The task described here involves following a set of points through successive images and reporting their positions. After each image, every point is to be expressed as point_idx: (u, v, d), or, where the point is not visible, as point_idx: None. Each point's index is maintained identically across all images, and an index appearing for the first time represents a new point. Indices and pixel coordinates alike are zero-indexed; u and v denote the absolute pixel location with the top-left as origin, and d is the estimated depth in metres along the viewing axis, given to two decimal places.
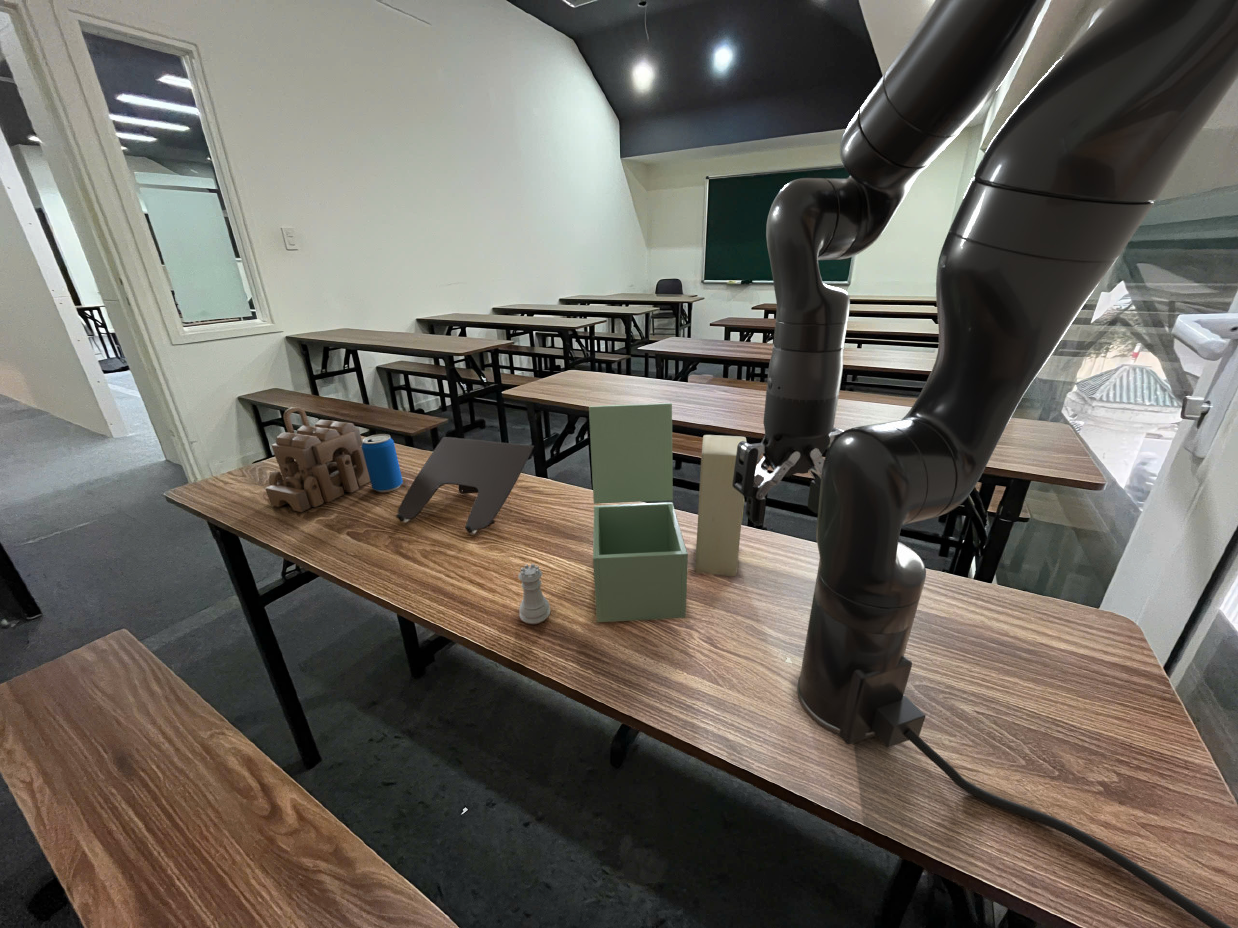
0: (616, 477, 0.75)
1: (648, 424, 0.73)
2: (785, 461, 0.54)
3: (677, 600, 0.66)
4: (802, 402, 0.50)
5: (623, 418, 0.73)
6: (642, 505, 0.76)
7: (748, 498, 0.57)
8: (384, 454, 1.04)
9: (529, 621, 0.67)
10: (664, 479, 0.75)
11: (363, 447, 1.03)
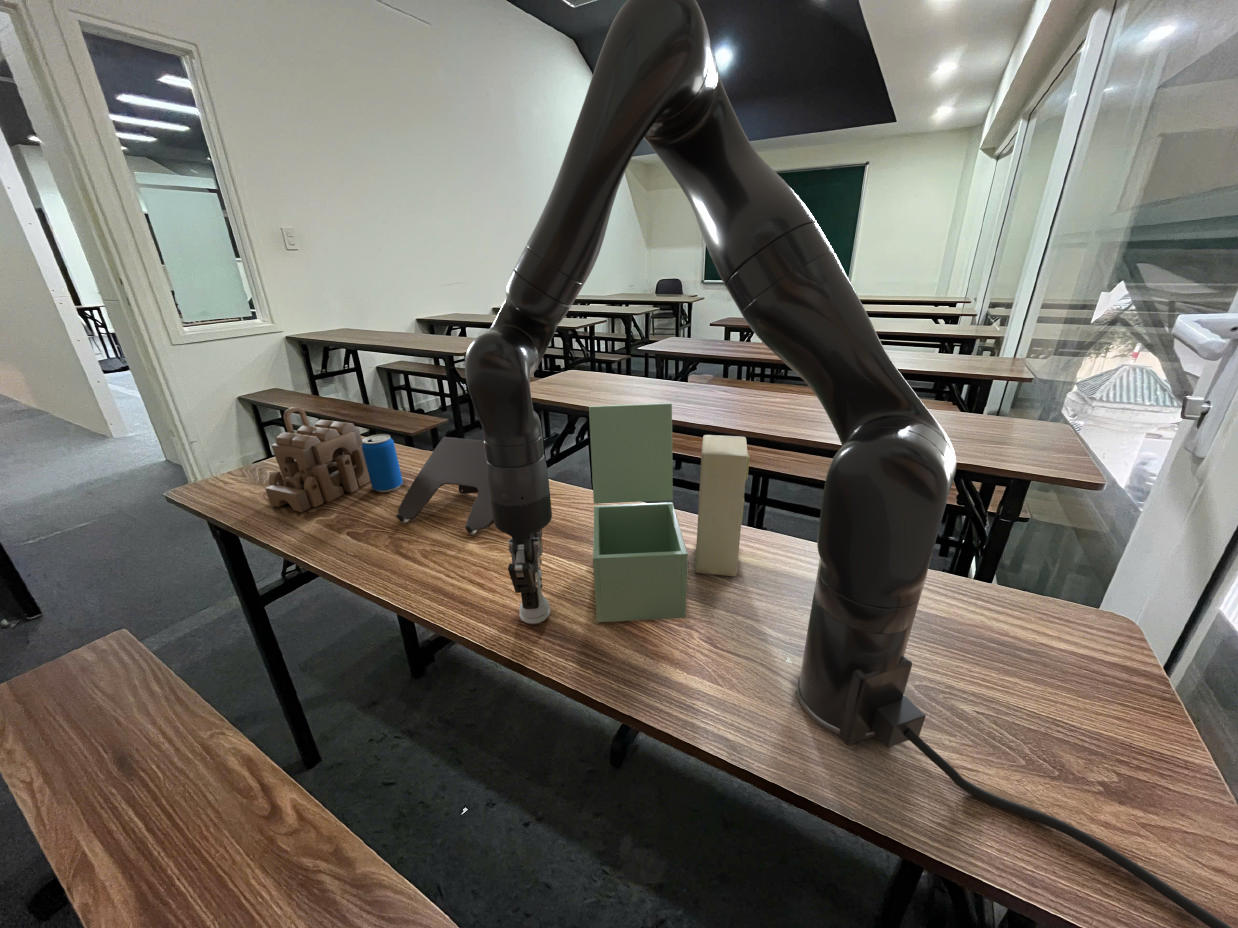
0: (616, 477, 0.75)
1: (648, 424, 0.73)
2: (537, 551, 0.62)
3: (677, 600, 0.66)
4: (542, 500, 0.59)
5: (623, 418, 0.73)
6: (642, 505, 0.76)
7: (525, 592, 0.64)
8: (384, 454, 1.04)
9: (529, 621, 0.67)
10: (664, 479, 0.75)
11: (363, 447, 1.03)
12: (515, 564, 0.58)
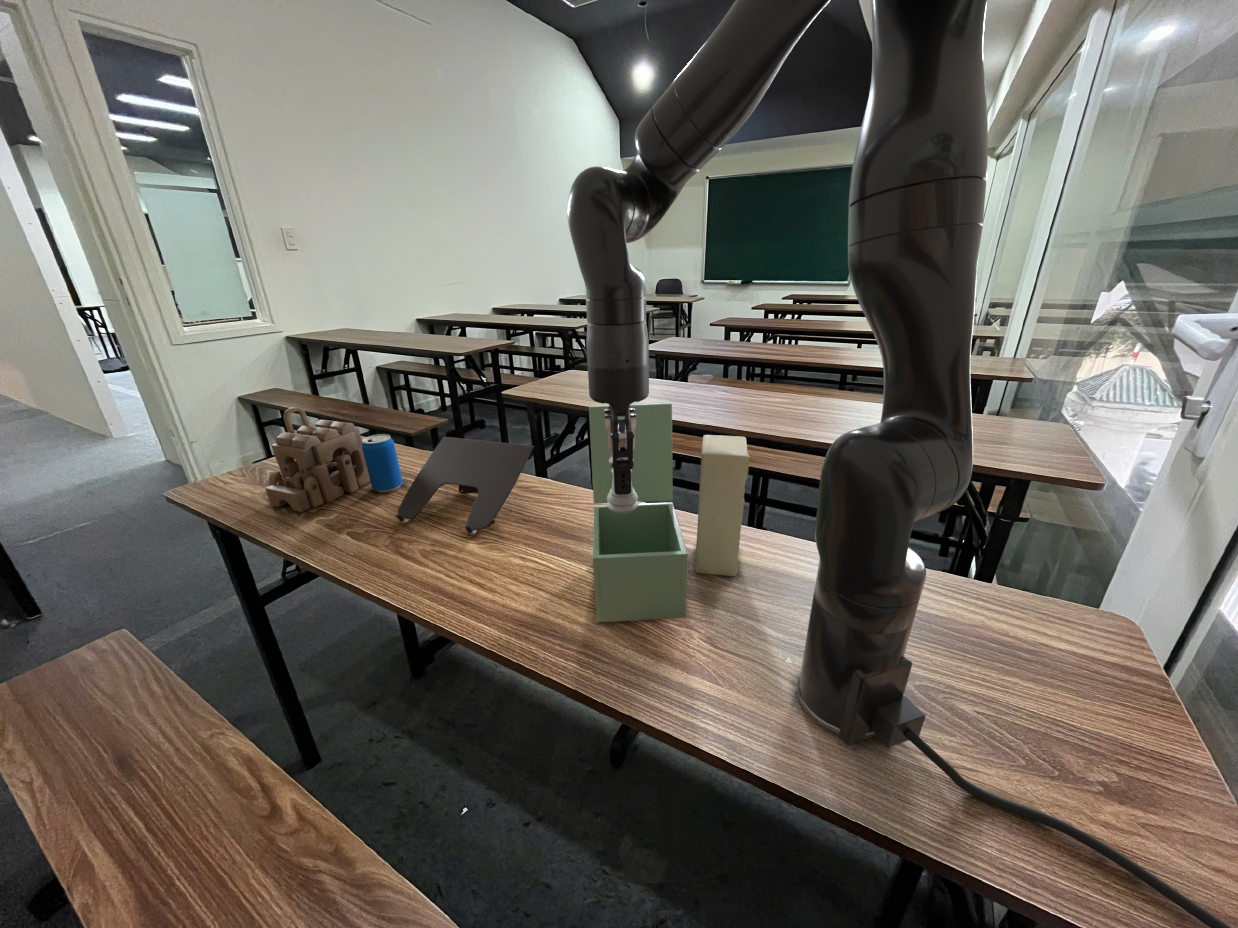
0: None
1: (648, 424, 0.73)
2: (634, 428, 0.60)
3: (677, 600, 0.66)
4: (644, 367, 0.57)
5: None
6: (642, 505, 0.76)
7: (619, 474, 0.61)
8: (384, 454, 1.04)
9: (619, 510, 0.64)
10: (664, 479, 0.75)
11: (363, 447, 1.03)
12: (618, 432, 0.56)
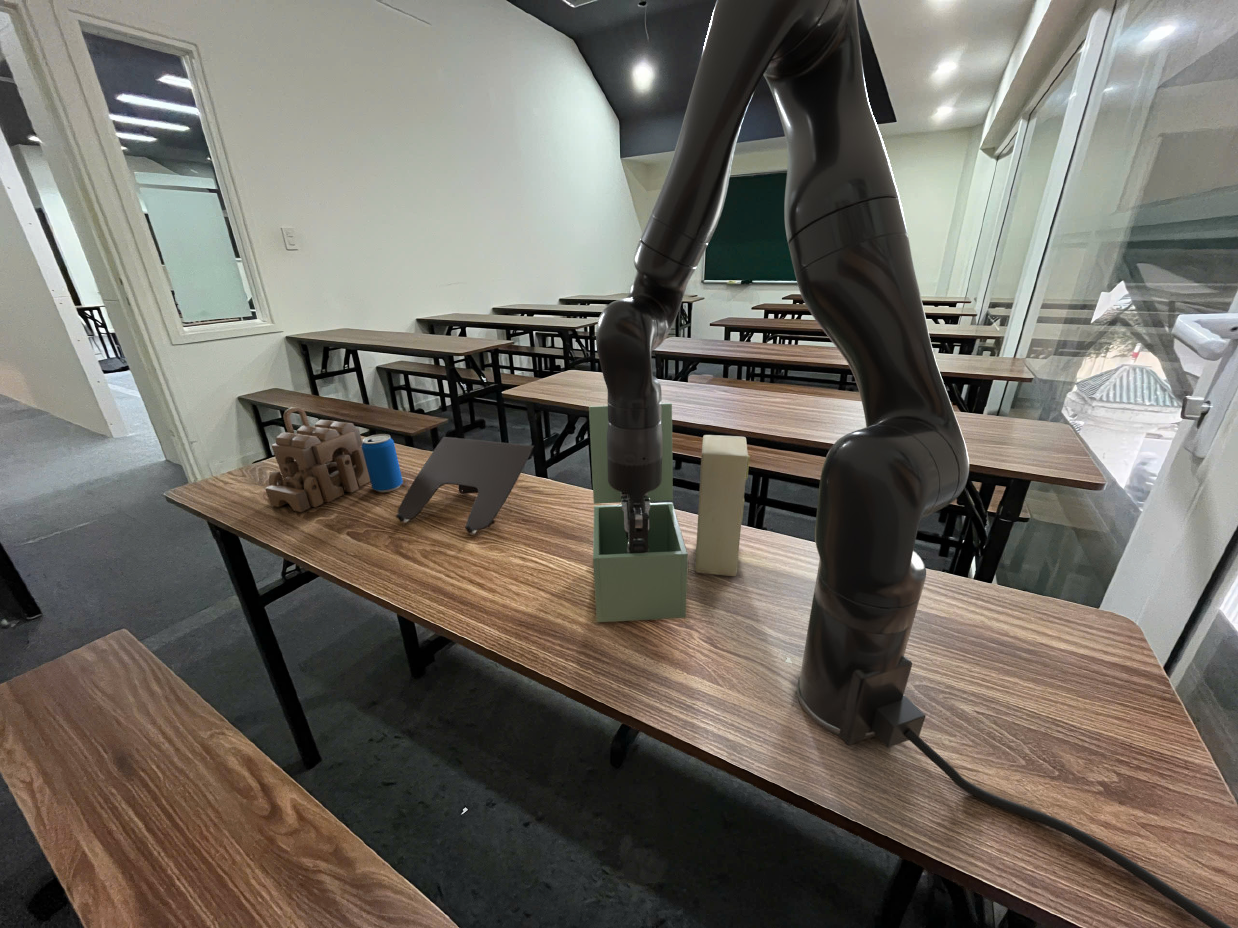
0: None
1: None
2: (648, 509, 0.66)
3: (677, 600, 0.66)
4: (658, 461, 0.63)
5: None
6: None
7: None
8: (384, 454, 1.04)
9: None
10: (664, 479, 0.75)
11: (363, 447, 1.03)
12: (635, 513, 0.62)
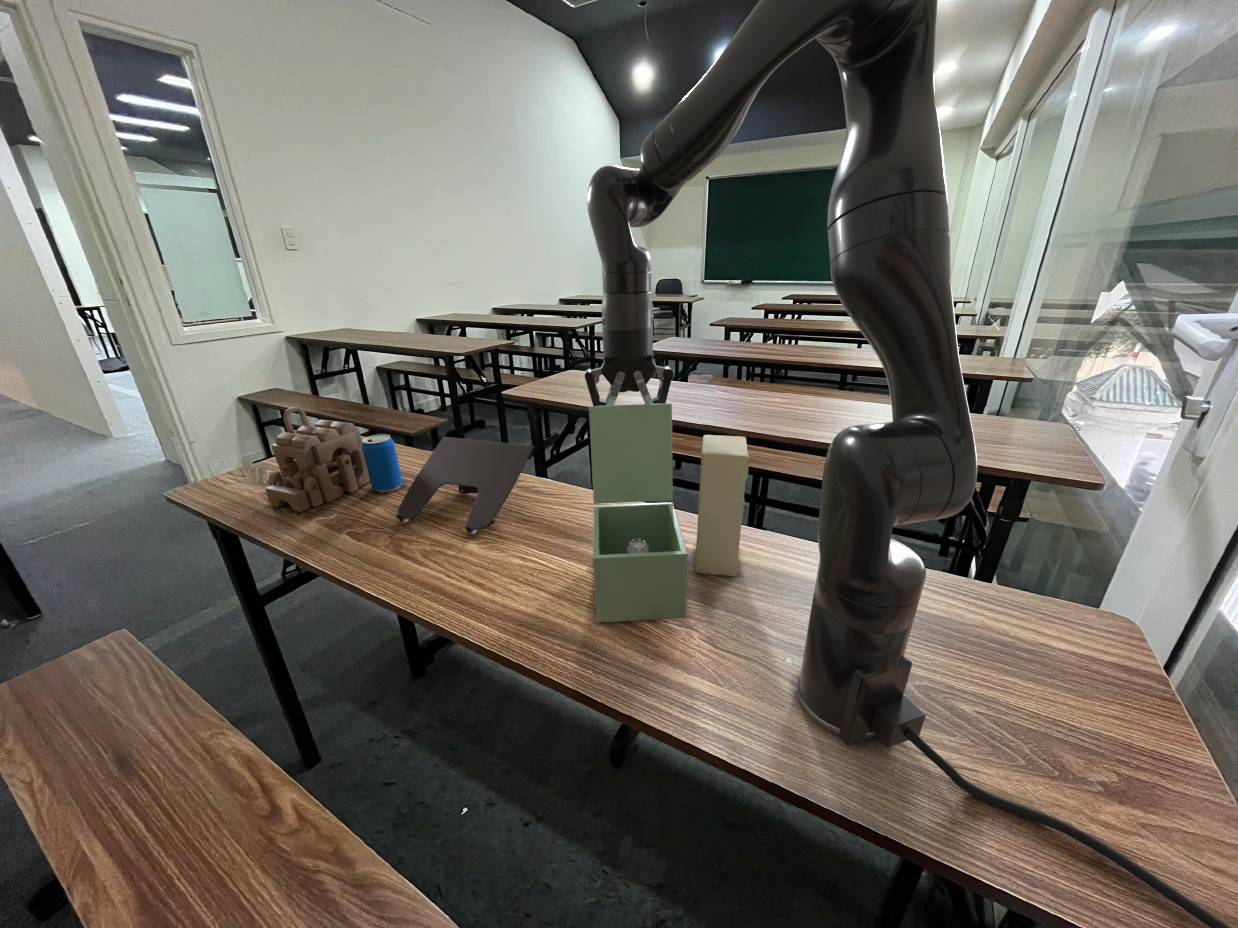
0: (616, 477, 0.75)
1: (648, 424, 0.73)
2: None
3: (677, 600, 0.66)
4: None
5: (623, 418, 0.73)
6: (642, 505, 0.76)
7: None
8: (384, 454, 1.04)
9: None
10: (664, 479, 0.75)
11: (363, 447, 1.03)
12: (668, 368, 0.74)
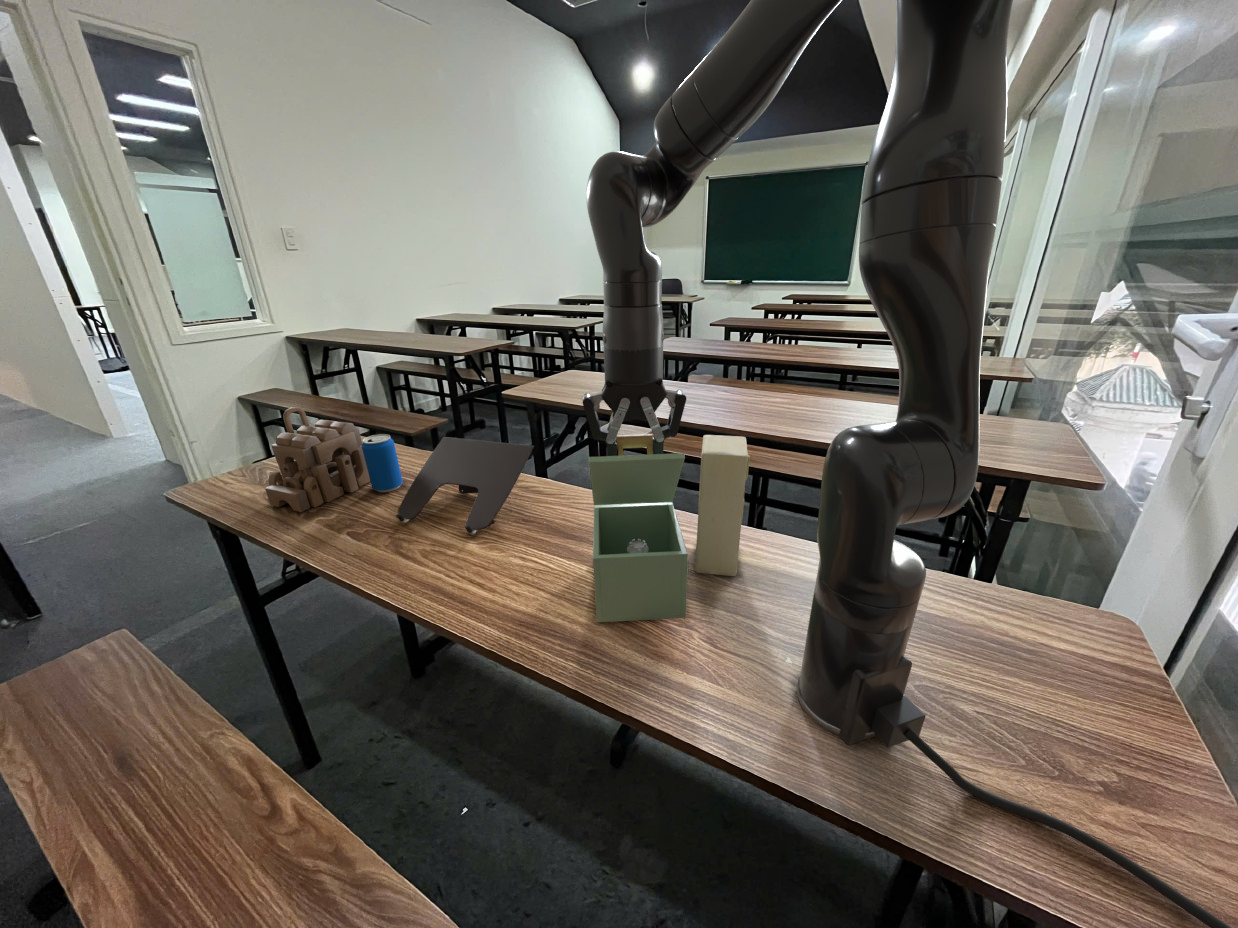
0: (617, 494, 0.72)
1: (655, 469, 0.65)
2: None
3: (677, 600, 0.66)
4: None
5: (627, 467, 0.64)
6: (642, 505, 0.76)
7: None
8: (384, 454, 1.04)
9: None
10: (666, 493, 0.73)
11: (363, 447, 1.03)
12: (680, 393, 0.63)
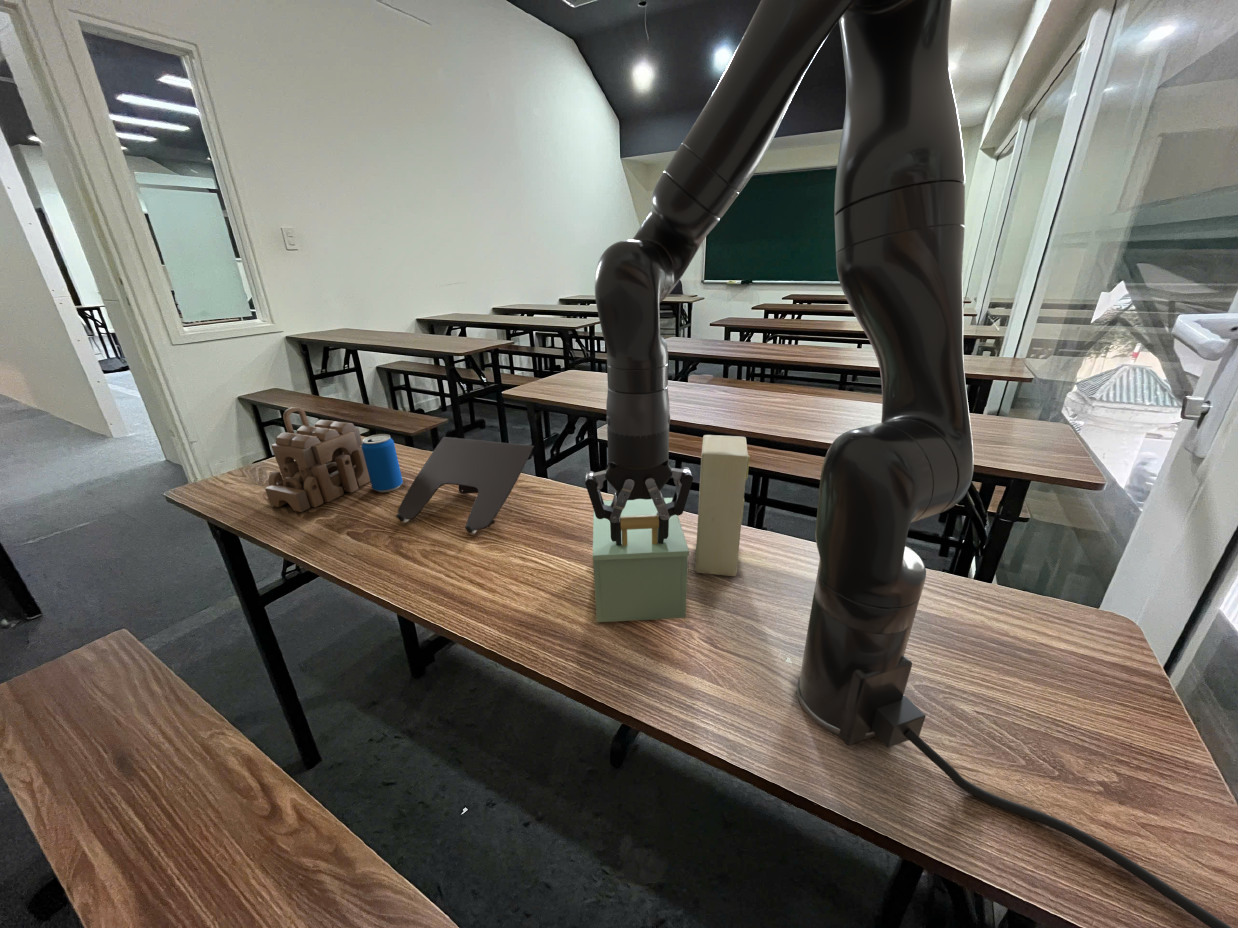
0: None
1: None
2: None
3: (677, 600, 0.66)
4: None
5: None
6: None
7: (668, 520, 0.63)
8: (384, 454, 1.04)
9: None
10: None
11: (363, 447, 1.03)
12: (687, 472, 0.60)
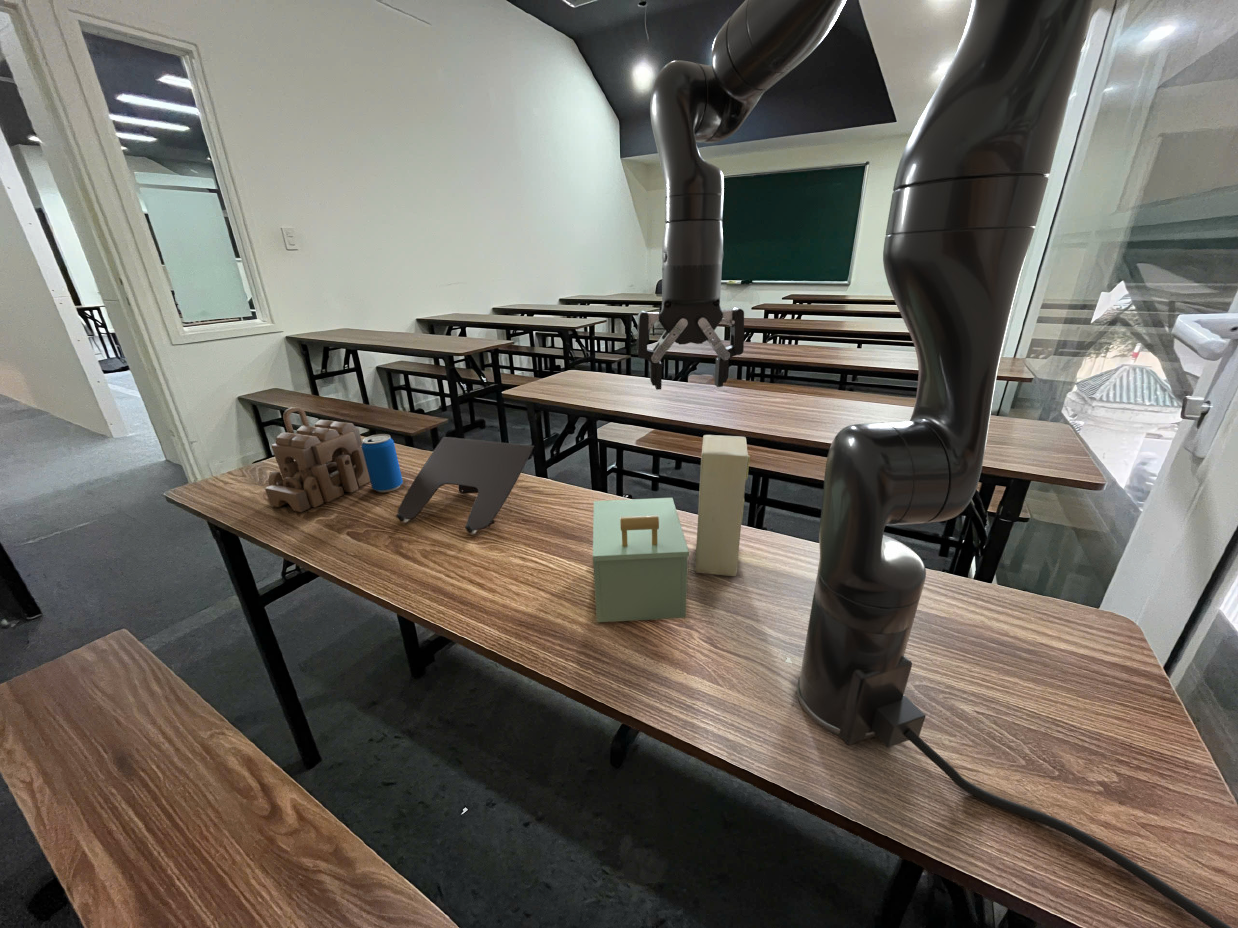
0: None
1: None
2: None
3: (677, 600, 0.66)
4: None
5: None
6: None
7: None
8: (384, 454, 1.04)
9: None
10: None
11: (363, 447, 1.03)
12: (736, 309, 0.63)
